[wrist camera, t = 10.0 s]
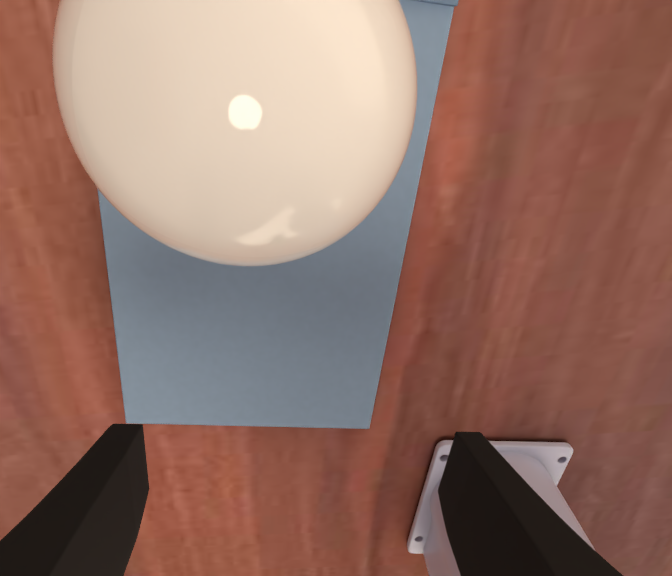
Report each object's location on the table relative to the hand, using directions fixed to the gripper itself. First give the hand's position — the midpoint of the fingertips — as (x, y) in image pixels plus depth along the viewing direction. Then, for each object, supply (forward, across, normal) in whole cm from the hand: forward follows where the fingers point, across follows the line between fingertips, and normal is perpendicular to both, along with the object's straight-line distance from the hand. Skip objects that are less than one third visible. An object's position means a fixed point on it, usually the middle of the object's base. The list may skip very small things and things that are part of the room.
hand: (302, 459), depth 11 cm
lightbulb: (+10, +2, -8) cm, 13 cm away
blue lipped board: (+10, +2, -2) cm, 11 cm away
